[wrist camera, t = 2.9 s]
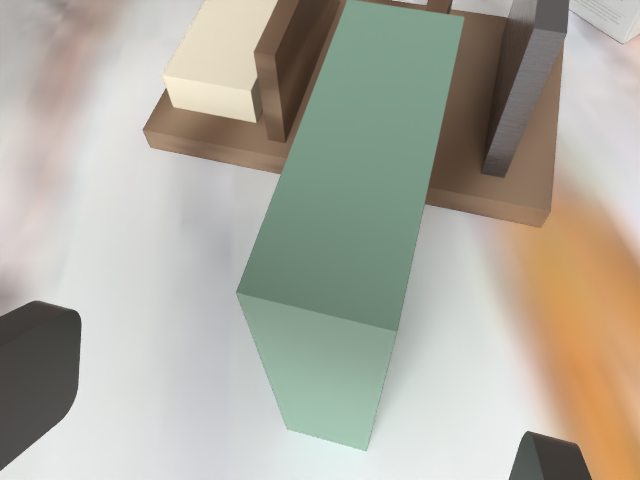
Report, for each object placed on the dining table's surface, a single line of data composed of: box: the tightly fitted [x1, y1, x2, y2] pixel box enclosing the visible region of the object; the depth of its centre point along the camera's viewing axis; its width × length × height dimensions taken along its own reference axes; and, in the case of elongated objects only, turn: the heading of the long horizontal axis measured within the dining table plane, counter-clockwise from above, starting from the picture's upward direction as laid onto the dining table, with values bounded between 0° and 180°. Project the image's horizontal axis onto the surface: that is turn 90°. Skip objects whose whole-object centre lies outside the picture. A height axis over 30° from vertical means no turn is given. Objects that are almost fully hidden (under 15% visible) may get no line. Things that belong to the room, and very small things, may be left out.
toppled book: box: [162, 0, 278, 123], centre depth 33 cm, size 5×10×2 cm, turn 165°
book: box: [236, 0, 464, 451], centre depth 20 cm, size 4×10×14 cm, turn 165°
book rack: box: [143, 0, 564, 227], centre depth 30 cm, size 22×14×8 cm, turn 75°
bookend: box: [481, 0, 569, 178], centre depth 27 cm, size 1×11×9 cm, turn 165°
